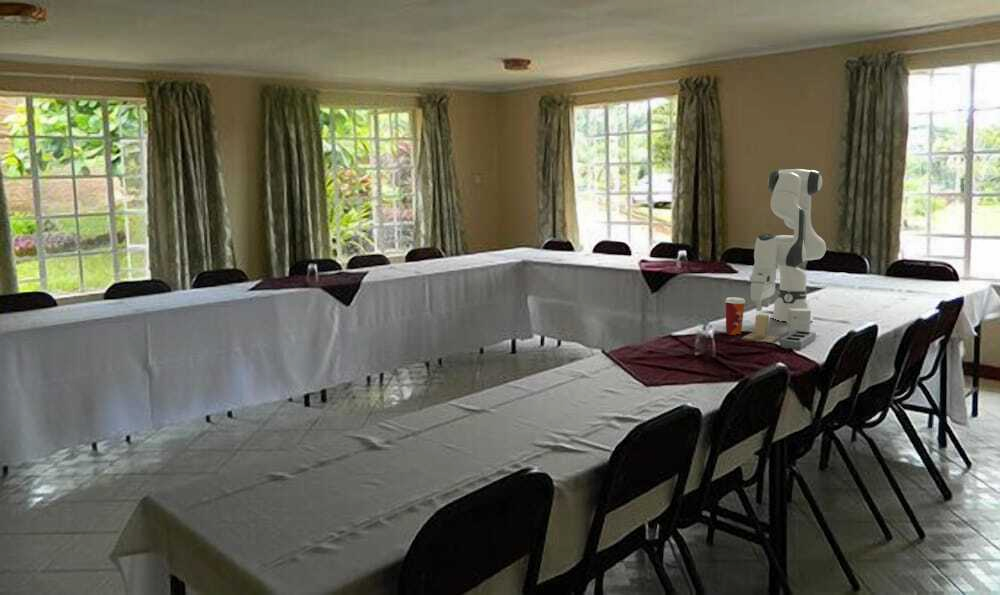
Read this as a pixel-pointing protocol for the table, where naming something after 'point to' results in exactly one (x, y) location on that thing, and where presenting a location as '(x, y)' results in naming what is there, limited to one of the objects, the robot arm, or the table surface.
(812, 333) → the grey slotted block
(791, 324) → the small box
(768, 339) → the pad
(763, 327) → the peg
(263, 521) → the table surface
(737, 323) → the coffee cup
